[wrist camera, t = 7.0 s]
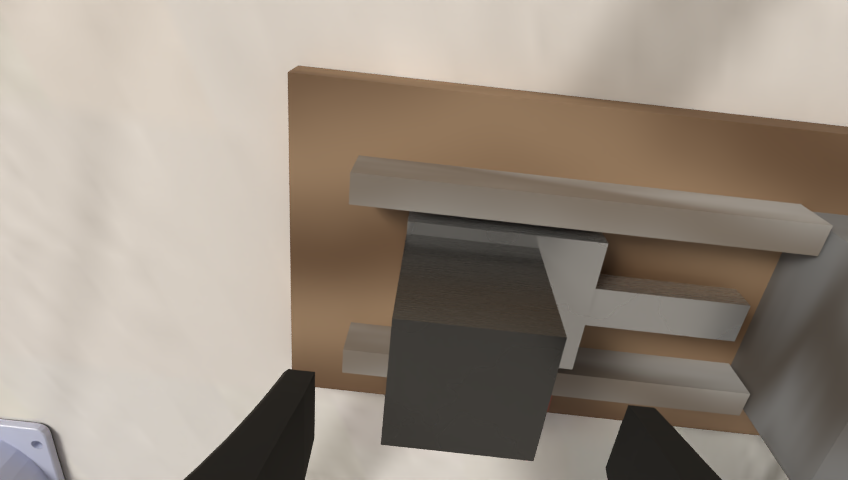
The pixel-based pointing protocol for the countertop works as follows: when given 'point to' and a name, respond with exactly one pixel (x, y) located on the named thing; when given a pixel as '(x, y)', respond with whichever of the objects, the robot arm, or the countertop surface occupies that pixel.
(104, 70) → the countertop surface
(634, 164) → the base
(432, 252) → the plunger
